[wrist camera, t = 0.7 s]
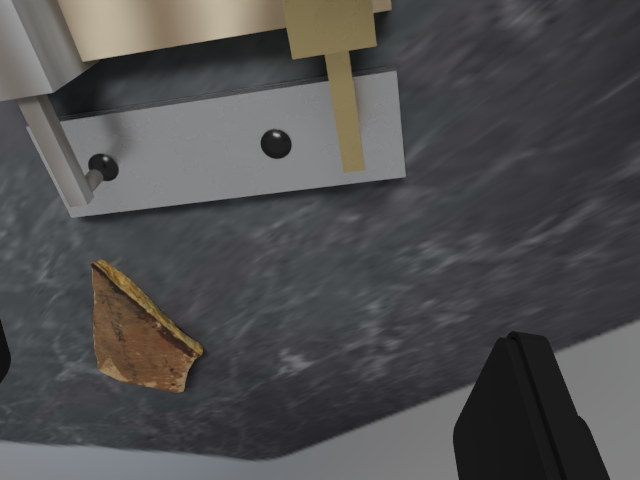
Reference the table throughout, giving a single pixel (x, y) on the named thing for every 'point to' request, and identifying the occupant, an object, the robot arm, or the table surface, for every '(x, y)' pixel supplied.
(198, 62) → the table surface
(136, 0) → the divider rail
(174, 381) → the shard
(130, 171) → the bolt plate
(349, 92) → the sliding leg
